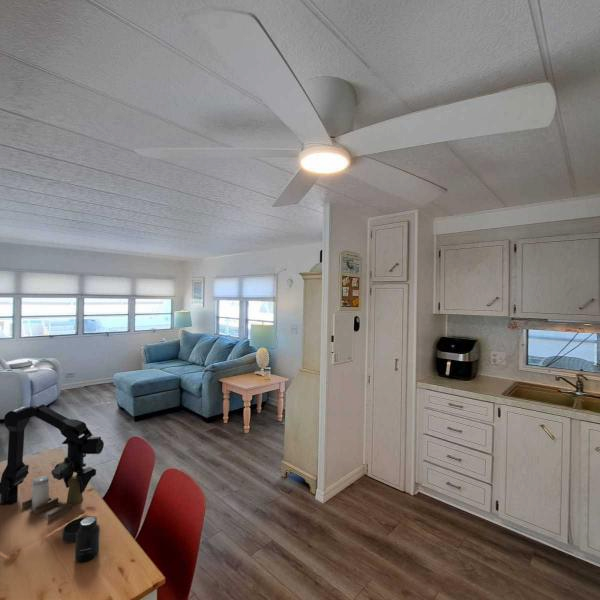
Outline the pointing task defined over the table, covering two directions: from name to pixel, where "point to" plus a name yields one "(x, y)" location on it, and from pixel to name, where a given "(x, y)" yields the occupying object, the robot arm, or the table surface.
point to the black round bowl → (71, 530)
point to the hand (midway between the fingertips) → (74, 490)
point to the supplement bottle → (87, 540)
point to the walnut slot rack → (48, 508)
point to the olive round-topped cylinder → (74, 491)
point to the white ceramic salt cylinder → (40, 491)
